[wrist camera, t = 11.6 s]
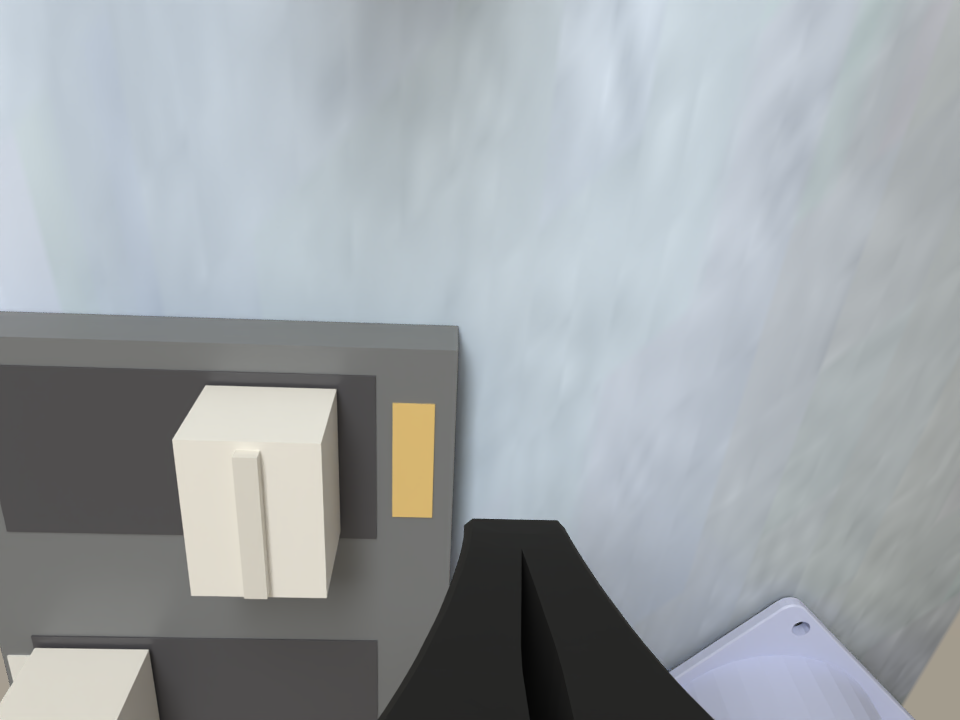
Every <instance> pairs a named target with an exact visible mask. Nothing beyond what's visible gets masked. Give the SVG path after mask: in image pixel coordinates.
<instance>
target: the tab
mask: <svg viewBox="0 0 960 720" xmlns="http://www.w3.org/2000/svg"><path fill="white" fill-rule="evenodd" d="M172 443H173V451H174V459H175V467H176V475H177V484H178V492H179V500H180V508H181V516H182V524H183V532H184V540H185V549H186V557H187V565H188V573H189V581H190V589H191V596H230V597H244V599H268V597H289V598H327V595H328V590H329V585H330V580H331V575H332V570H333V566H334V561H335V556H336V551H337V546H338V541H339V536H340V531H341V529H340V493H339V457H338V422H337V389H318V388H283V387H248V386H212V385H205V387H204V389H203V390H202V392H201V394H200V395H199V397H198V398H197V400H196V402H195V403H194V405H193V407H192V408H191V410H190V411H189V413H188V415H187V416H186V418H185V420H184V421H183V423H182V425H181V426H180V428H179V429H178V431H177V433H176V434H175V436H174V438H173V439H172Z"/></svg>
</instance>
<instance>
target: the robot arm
mask: <svg viewBox="0 0 960 720" xmlns="http://www.w3.org/2000/svg"><path fill="white" fill-rule="evenodd" d="M799 622H803V623H802V624H800V625H798V626H794V625H795V624H796V623H799ZM378 720H915V719H914V718H913V717H912V716H911V715H910V714H909V713H908V712H907V711H906V710H905V709H904V708H903V706H902V705H901V704H900V703H899V702H898V701H897V700H896V699H895V698H894V697H893V696H892V695H891V694H890V693H889V692H888V691H887V690H886V689H885V688H884V687H883V686H882V685H881V684H880V682H879V681H878V680H877V679H876V678H875V677H874V676H873V675H872V674H871V673H870V672H869V671H868V670H867V669H866V668H865V667H864V666H863V665H862V664H861V663H860V662H859V661H858V660H857V659H856V658H855V656H854V655H853V654H852V653H851V652H850V651H849V650H848V649H847V648H846V647H845V646H844V645H843V644H842V643H841V642H840V641H839V640H838V639H837V638H836V637H835V636H834V635H833V634H832V633H831V631H830V630H829V629H828V628H827V627H826V626H825V625H824V624H823V623H822V622H821V621H820V620H819V619H818V618H817V617H816V616H815V615H814V614H813V613H812V612H811V611H810V610H809V609H808V608H807V606H806V605H805V604H804V603H803V602H802V601H800V600H799V599H797V598H793V597H788V598H783V599H781V600H778V601H777V602H775V603H774V604H772V605H771V606H769V607H768V608H766V609H765V610H763V611H762V612H760V613H758V614H757V615H755V616H754V617H752V618H751V619H749V620H748V621H746V622H745V623H743V624H742V625H740V626H739V627H737V628H736V629H734V630H733V631H731V632H730V633H728V634H726V635H725V636H723V637H722V638H720V639H719V640H717V641H716V642H714V643H713V644H711V645H710V646H708V647H707V648H705V649H704V650H702V651H701V652H699V653H698V654H696V655H695V656H693V657H691V658H690V659H688V660H687V661H685V662H684V663H682V664H681V665H679V666H678V667H676V668H675V669H673V670H672V671H670V672H668V671H667V670H666V668H665V667H664V666H663V665H662V664H661V663H660V662H659V660H658V659H657V658H656V657H655V656H654V654H653V653H652V652H651V651H650V650H649V649H648V647H647V646H646V645H645V644H644V643H643V641H642V640H641V639H640V638H639V636H638V635H637V634H636V633H635V631H634V630H633V629H632V628H631V626H630V625H629V624H628V622H627V621H626V620H625V618H624V617H623V616H622V614H621V613H620V612H619V610H618V609H617V608H616V606H615V605H614V604H613V602H612V601H611V600H610V598H609V597H608V596H607V594H606V593H605V591H604V590H603V588H602V587H601V586H600V584H599V583H598V581H597V580H596V578H595V577H594V575H593V574H592V572H591V571H590V569H589V568H588V566H587V565H586V563H585V562H584V560H583V559H582V557H581V555H580V554H579V552H578V551H577V549H576V547H575V546H574V544H573V542H572V541H571V539H570V537H569V535H568V534H567V532H566V530H565V528H564V527H563V526H562V525H561V524H560V523H559V522H558V521H557V520H511V519H472V520H470V521H469V522H468V523H467V524H465V525H464V539H463V544H462V549H461V553H460V557H459V560H458V563H457V566H456V569H455V573H454V576H453V579H452V581H451V584H450V586H449V588H448V591H447V593H446V596H445V598H444V601H443V603H442V606H441V608H440V610H439V613H438V615H437V617H436V619H435V621H434V623H433V625H432V627H431V629H430V631H429V633H428V635H427V637H426V639H425V641H424V643H423V645H422V647H421V649H420V651H419V653H418V655H417V657H416V659H415V660H414V662H413V664H412V666H411V667H410V669H409V671H408V673H407V674H406V676H405V678H404V679H403V681H402V683H401V684H400V686H399V688H398V689H397V691H396V692H395V694H394V696H393V697H392V699H391V700H390V702H389V703H388V705H387V706H386V708H385V710H384V711H383V713H382V714H381V715H380V717H379V718H378Z"/></svg>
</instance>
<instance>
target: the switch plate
mask: <svg viewBox="0 0 960 720" xmlns="http://www.w3.org/2000/svg"><path fill="white" fill-rule="evenodd" d="M457 372H458V326H442V325H411V324H380V323H349V322H317V321H286V320H255V319H223V318H192V317H161V316H130V315H98V314H67V313H36V312H5V311H0V647H1V651H2V655H3V659H4V663H5V667H6V671H7V675H8V679H9V683H10V687H11V685H12V683H13V682H14V680H15V679H16V677H17V676H18V674H19V672H20V671H21V669H22V668H23V666H24V664H25V663H26V661H27V660H28V658H29V656H30V655H31V653H32V652H33V650H34V648H71V649H143V650H149V654H150V660H151V667H152V673H153V679H154V686H155V692H156V699H157V705H158V712H159V718H160V720H378V718H379V717H380V715H381V714H382V713H383V711H384V710H385V708H386V706H387V705H388V703H389V702H390V700H391V699H392V697H393V696H394V694H395V692H396V691H397V689H398V688H399V686H400V684H401V683H402V681H403V679H404V678H405V676H406V674H407V673H408V671H409V669H410V667H411V666H412V664H413V662H414V660H415V659H416V657H417V655H418V653H419V651H420V649H421V647H422V645H423V643H424V641H425V639H426V637H427V635H428V633H429V631H430V629H431V627H432V625H433V623H434V621H435V619H436V617H437V615H438V613H439V610H440V608H441V606H442V603H443V601H444V598H445V596H446V593H447V591H448V588H449V577H450V552H451V526H452V500H453V475H454V449H455V423H456V398H457ZM205 385H212V386H248V387H283V388H318V389H337V422H338V457H339V493H340V529H341V531H340V536H339V541H338V546H337V551H336V556H335V561H334V566H333V570H332V575H331V580H330V585H329V590H328V595H327V598H289V597H268V599H244V597H230V596H191V589H190V581H189V573H188V565H187V557H186V549H185V540H184V532H183V524H182V516H181V508H180V500H179V492H178V484H177V475H176V467H175V459H174V451H173V443H172V439H173V438H174V436H175V434H176V433H177V431H178V429H179V428H180V426H181V425H182V423H183V421H184V420H185V418H186V416H187V415H188V413H189V411H190V410H191V408H192V407H193V405H194V403H195V402H196V400H197V398H198V397H199V395H200V394H201V392H202V390H203V389H204V387H205Z"/></svg>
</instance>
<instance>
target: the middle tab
mask: <svg viewBox="0 0 960 720" xmlns="http://www.w3.org/2000/svg"><path fill="white" fill-rule="evenodd" d="M0 720H160V718H159V712H158V705H157V699H156V692H155V686H154V679H153V673H152V667H151V660H150V654H149V650H143V649H71V648H34V650H33V652H32V653H31V655H30V656H29V658H28V660H27V661H26V663H25V664H24V666H23V668H22V669H21V671H20V672H19V674H18V676H17V677H16V679H15V680H14V682H13V683H12V685H11V687H10V688H9V690H8V692H7V693H6V695H5V696H4V698H3V700H2V701H1V703H0Z"/></svg>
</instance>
